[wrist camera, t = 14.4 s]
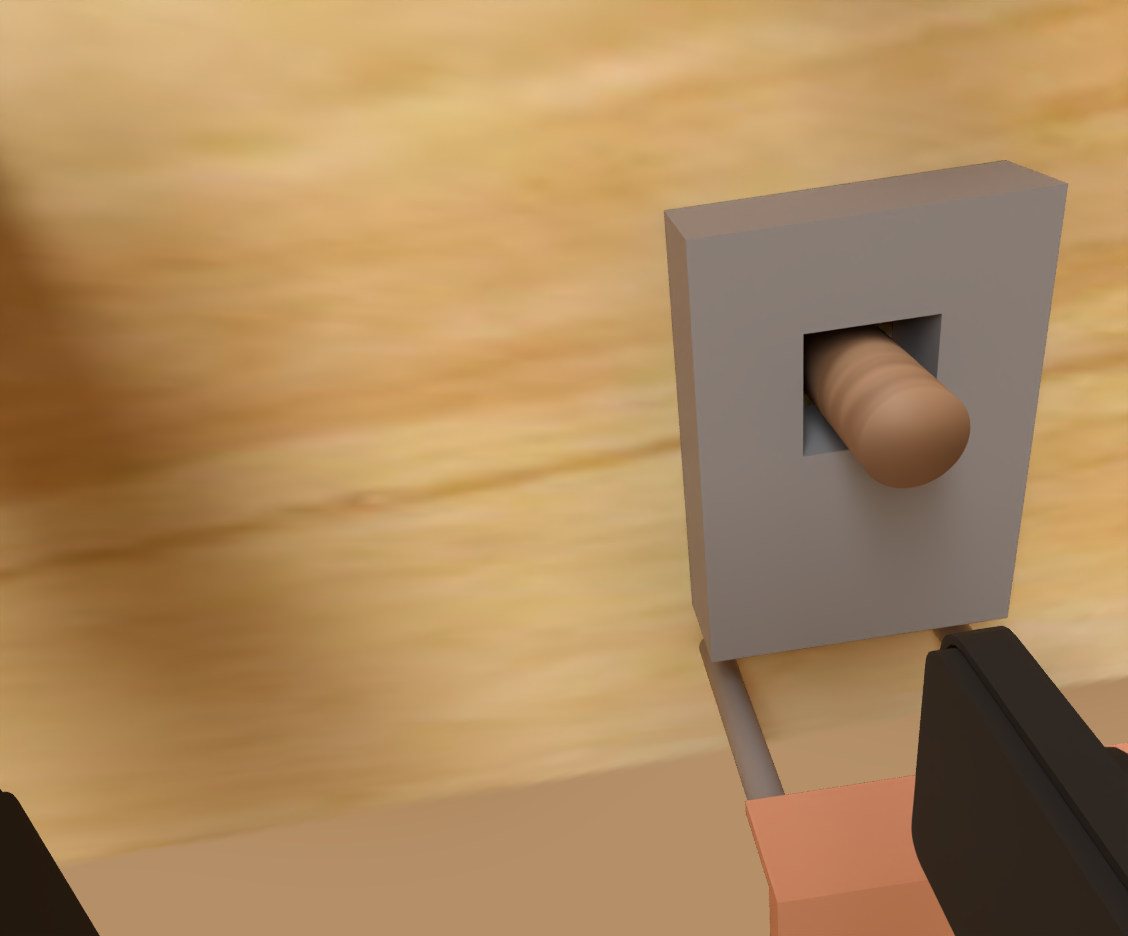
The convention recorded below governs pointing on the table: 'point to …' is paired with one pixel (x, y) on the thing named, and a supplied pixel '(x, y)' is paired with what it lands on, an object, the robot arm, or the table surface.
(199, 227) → the table surface
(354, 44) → the table surface
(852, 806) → the pink topped stand
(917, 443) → the walnut peg
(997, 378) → the socket block
